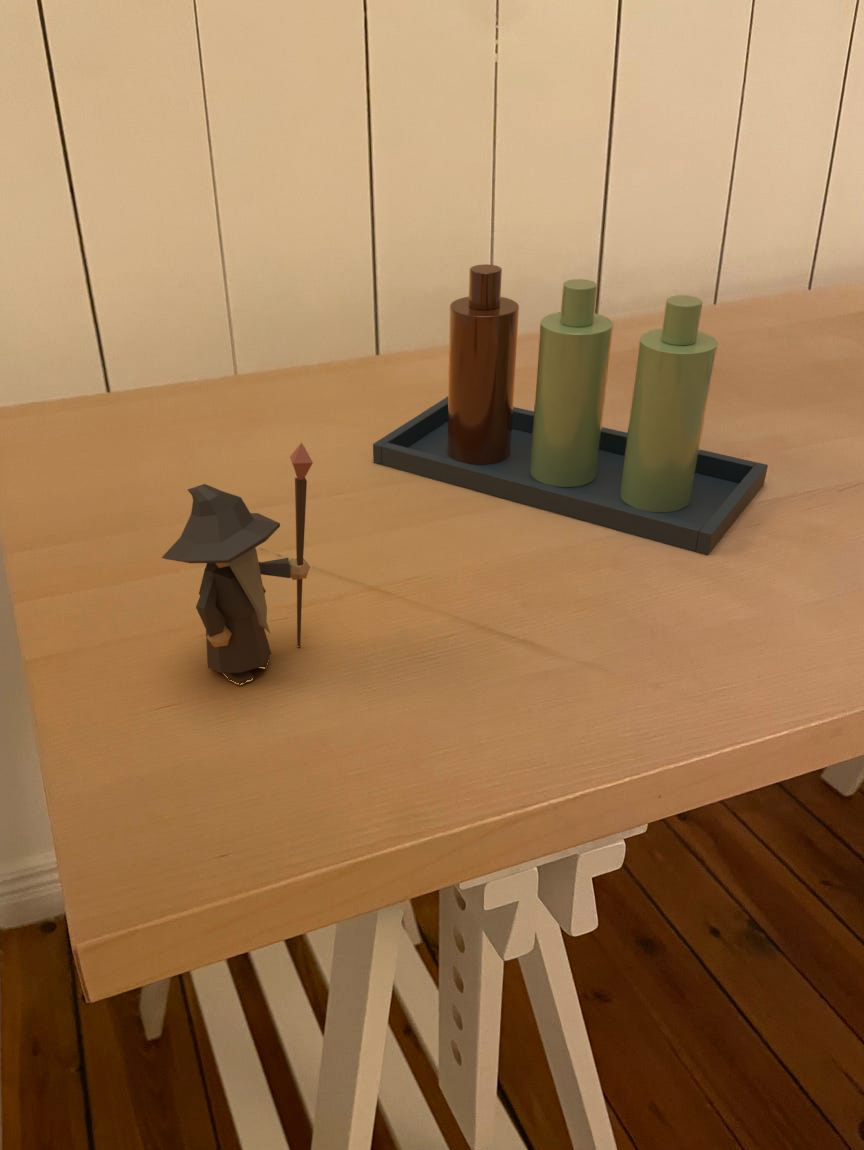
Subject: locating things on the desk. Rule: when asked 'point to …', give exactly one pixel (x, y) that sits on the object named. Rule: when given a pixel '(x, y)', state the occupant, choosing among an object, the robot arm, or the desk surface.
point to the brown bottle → (482, 370)
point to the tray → (694, 528)
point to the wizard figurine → (239, 572)
